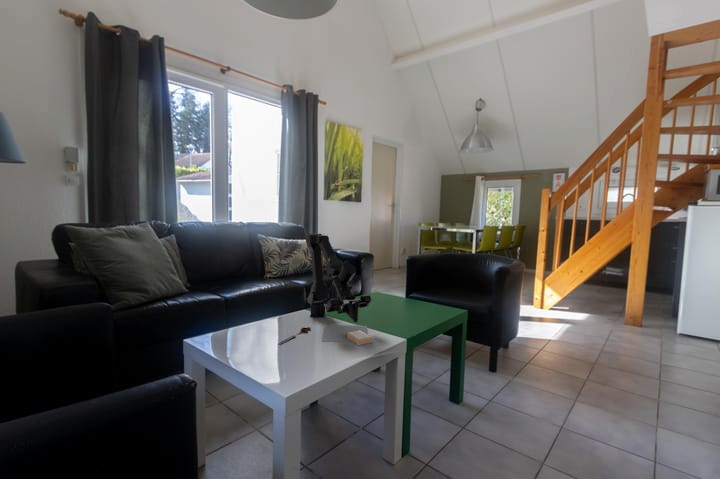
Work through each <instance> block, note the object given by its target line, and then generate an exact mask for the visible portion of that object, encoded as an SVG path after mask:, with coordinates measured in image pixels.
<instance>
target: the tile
mask: <svg viewBox="0 0 720 479" xmlns="http://www.w3.org/2000/svg"><path fill="white" fill-rule="evenodd" d="M347 338H348V339H350V340H352V341H353V342H352V343H354V344H356V345H358V346H361V345H366V344H371V343H373V336H372V335H369V333H368V334H366V333H364V332H362V331H361V330H358V331H353V332H347Z"/></svg>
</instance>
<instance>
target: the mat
mask: <svg viewBox="0 0 720 479" xmlns="http://www.w3.org/2000/svg"><path fill="white" fill-rule="evenodd" d="M358 330H361V331H362V332H364V333H366V334H368V335H369V329H368V325H348V324H347V325H346V324H345V325H344V324H343V325H342V324H341V325H340V324H325V326H324V330H323V333H322V334H323V335H322V338H321V342H322V343H323V342H324V343H354V342H353V341H352V340H350V339H348V338H347V332H353V331H358Z"/></svg>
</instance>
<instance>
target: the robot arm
mask: <svg viewBox="0 0 720 479" xmlns="http://www.w3.org/2000/svg"><path fill="white" fill-rule="evenodd" d="M305 243H306V247H307V250H309V252H310V256H311V258H310V259H311V267H312V268H311V269H312V280H313V283H312V285H311V286H310V292H309V294H308V296H307V303H308V304H309V305H310V315H309V318H324V317H325V315H326V312H327V313H332V312H333V313H334V312H337V313H338V315H339V314H346V315H347V316H348V317H349V318H350V319H351V320H352V321H353V322H354V323H358V320H359V308H360V309H364V308H367V307H368V306H369V305H370V303H371V302H372V300H373V299H372V296H371V295H370V294H365V295H360V297H359V298H358V299H356V298H357V297H356V294H354V293H353V291H352V290H353V286H350V283H349V282H351V281H352V279H353V277H354V276H355V275H356V272H357V267H356V266H355V265H354V264H352V263H350V261H349V260H345V261H344V262H343V261H342V260H341V259H340V258H339V257H337V255H336V253H335V250H334V248H333V247H332V244H331V242H330V237H329V235H326V234H322V233H308V234H307V235H306V236H305ZM322 255H323V258H324V260H325V262H326V266H325V269H326V270H325V272H326V274H327V276H328V277H330V278H334V279H333V280H332V283H331V284H332V287H333V286H334V287H335V289H336V292H337V294H336V298H330V292H329V285H328V284H326V282H325V280H324V269H323V258H322Z"/></svg>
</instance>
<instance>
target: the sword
mask: <svg viewBox="0 0 720 479" xmlns="http://www.w3.org/2000/svg"><path fill="white" fill-rule="evenodd" d="M311 330H312V329H311V326H310V327H309V326H307V327H302V328H301V329H300V331H299V332H298V333H296V335H295V334H294V335H292V336H289V337H287V338H285V339H283V340H281V341H280V342H279V343H277V346H282V345H283V344H286V343H287V342H288V341H290V340H291V339H293V338H294V339H295V337H296V336H299V335H302V334H307V333H309V331H311Z"/></svg>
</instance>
